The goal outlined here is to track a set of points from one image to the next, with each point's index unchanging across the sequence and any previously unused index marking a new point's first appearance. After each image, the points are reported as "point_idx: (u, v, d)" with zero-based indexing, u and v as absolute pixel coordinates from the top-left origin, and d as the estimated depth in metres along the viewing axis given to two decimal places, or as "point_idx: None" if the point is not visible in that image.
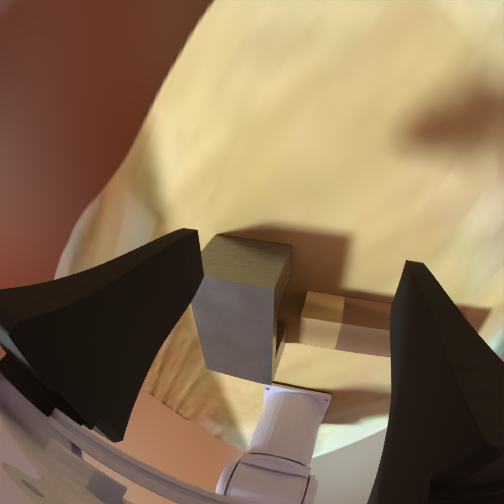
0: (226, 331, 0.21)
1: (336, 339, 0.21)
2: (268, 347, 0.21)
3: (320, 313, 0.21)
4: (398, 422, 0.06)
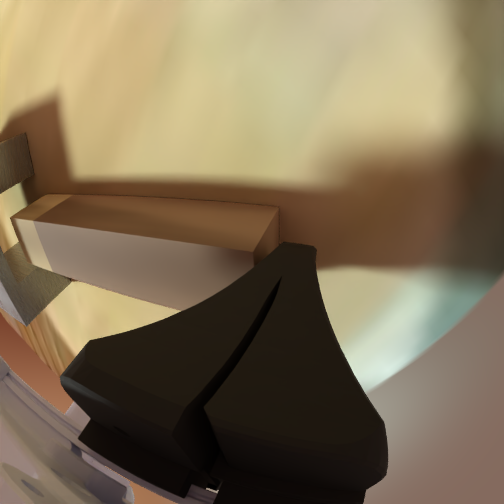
0: None
1: (44, 252, 0.12)
2: None
3: (27, 213, 0.12)
4: None
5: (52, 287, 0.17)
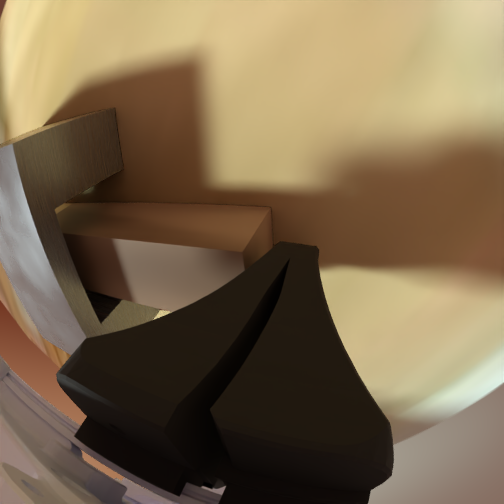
0: (15, 260, 0.10)
1: None
2: (58, 290, 0.09)
3: None
4: None
5: (140, 320, 0.14)
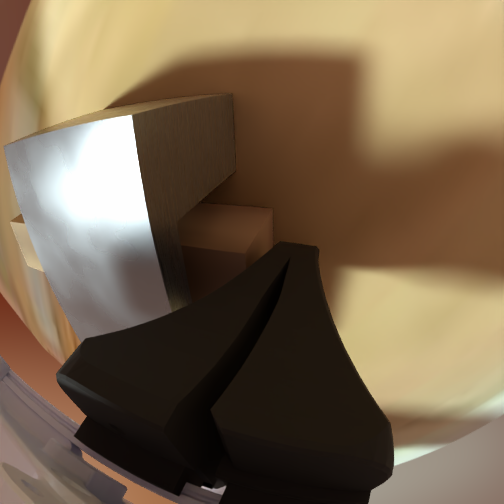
0: (83, 286, 0.08)
1: None
2: None
3: None
4: None
5: None
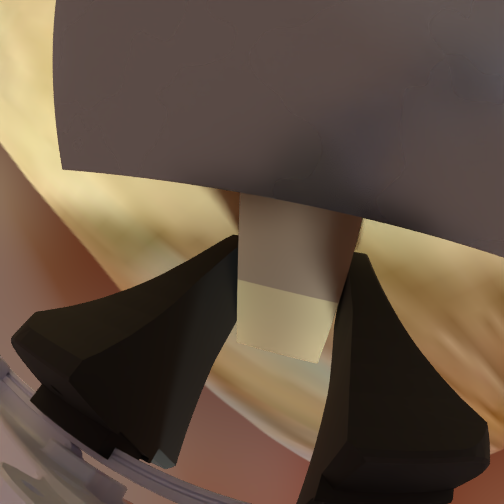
0: (262, 39, 0.03)
1: (296, 295, 0.08)
2: None
3: None
4: (325, 414, 0.06)
5: None
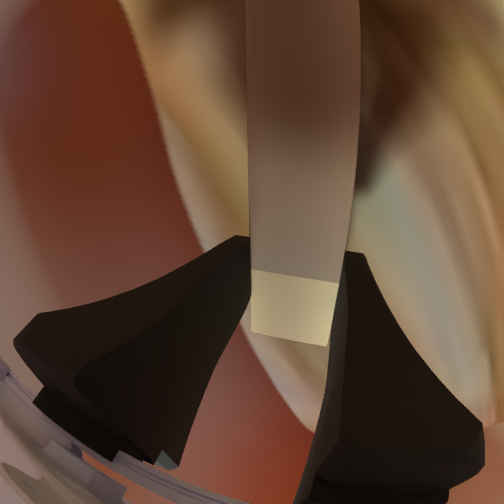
0: None
1: (302, 279, 0.10)
2: None
3: None
4: (321, 413, 0.06)
5: None
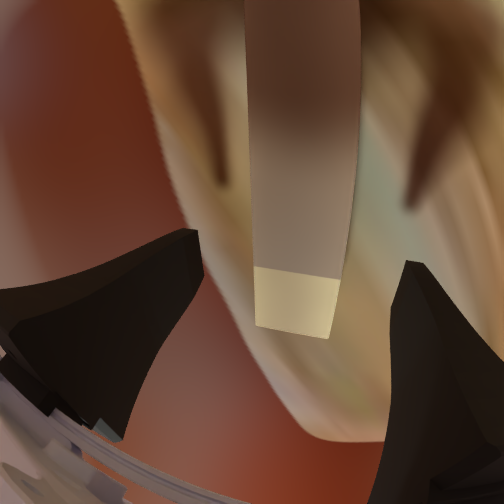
0: None
1: (304, 275, 0.10)
2: None
3: None
4: (398, 422, 0.06)
5: None
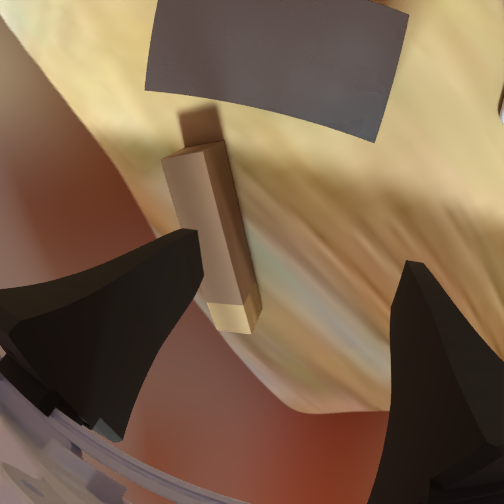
0: (245, 49, 0.10)
1: (228, 305, 0.21)
2: None
3: None
4: (398, 422, 0.06)
5: None
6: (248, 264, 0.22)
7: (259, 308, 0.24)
